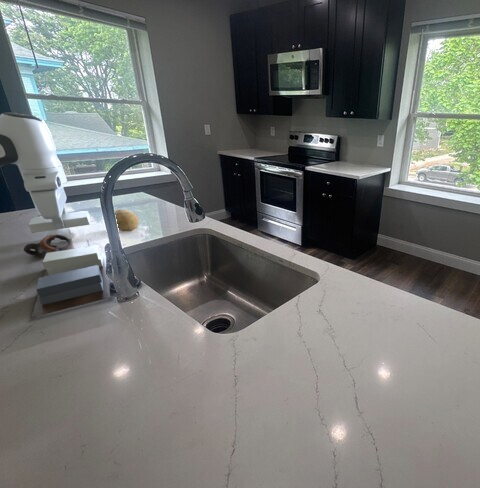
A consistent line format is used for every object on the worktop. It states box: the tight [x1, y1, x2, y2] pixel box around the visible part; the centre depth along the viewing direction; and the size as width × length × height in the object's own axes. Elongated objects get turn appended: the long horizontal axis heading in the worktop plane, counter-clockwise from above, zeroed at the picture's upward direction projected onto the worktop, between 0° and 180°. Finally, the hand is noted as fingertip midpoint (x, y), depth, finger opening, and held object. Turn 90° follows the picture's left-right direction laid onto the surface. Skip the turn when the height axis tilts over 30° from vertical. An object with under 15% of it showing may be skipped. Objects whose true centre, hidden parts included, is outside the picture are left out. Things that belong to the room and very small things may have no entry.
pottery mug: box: [23, 235, 73, 257], centre depth 101 cm, size 12×9×8 cm
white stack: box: [41, 244, 103, 276], centre depth 93 cm, size 13×7×5 cm, turn 124°
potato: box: [114, 208, 140, 232], centre depth 123 cm, size 10×14×8 cm
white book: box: [27, 210, 91, 234], centre depth 88 cm, size 13×6×2 cm, turn 124°
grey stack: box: [36, 265, 103, 305], centre depth 81 cm, size 13×7×5 cm, turn 124°
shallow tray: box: [30, 251, 111, 319], centre depth 88 cm, size 16×32×2 cm, turn 34°
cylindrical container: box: [29, 191, 73, 244], centre depth 109 cm, size 7×7×25 cm
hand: (62, 223), depth 88 cm, fingers closed on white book, 6 cm apart
